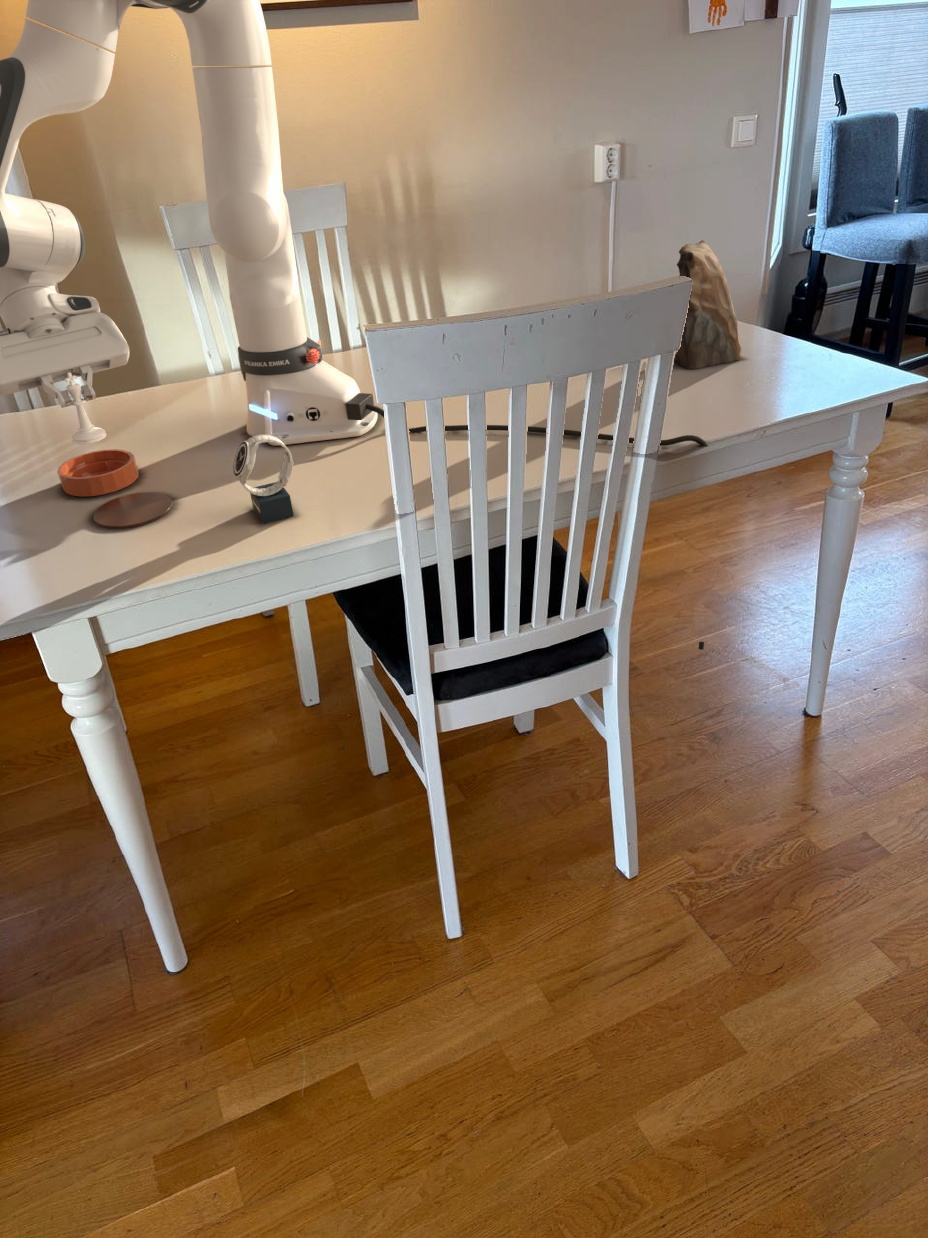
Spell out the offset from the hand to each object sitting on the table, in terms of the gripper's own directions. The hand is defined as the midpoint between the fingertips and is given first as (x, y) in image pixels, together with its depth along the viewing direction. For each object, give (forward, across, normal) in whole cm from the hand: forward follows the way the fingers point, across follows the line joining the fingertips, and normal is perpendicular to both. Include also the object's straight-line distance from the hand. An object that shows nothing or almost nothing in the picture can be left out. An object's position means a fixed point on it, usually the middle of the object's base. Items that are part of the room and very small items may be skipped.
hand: (79, 401), depth 132 cm
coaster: (+19, 0, 0) cm, 19 cm away
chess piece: (+4, 0, +5) cm, 6 cm away
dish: (+9, 0, +10) cm, 13 cm away
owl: (+30, +106, -10) cm, 111 cm away
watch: (+30, +14, -10) cm, 35 cm away
